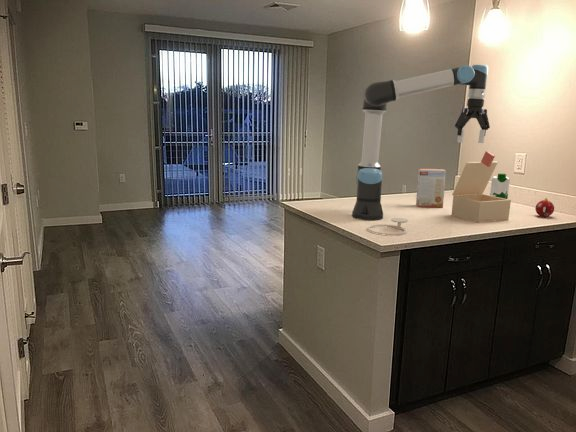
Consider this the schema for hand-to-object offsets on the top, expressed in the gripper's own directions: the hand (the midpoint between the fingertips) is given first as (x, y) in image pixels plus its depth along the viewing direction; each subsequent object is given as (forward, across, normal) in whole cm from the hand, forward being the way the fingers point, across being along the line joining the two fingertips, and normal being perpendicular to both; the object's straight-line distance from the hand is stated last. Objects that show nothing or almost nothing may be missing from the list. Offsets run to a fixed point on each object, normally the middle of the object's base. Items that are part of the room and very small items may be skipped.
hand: (470, 142), depth 234 cm
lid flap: (+17, +7, -5) cm, 19 cm away
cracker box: (+38, +1, +26) cm, 45 cm away
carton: (+37, +7, -5) cm, 38 cm away
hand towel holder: (+38, -54, -14) cm, 67 cm away
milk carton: (+37, +32, +7) cm, 49 cm away
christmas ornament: (+36, +42, -14) cm, 57 cm away
